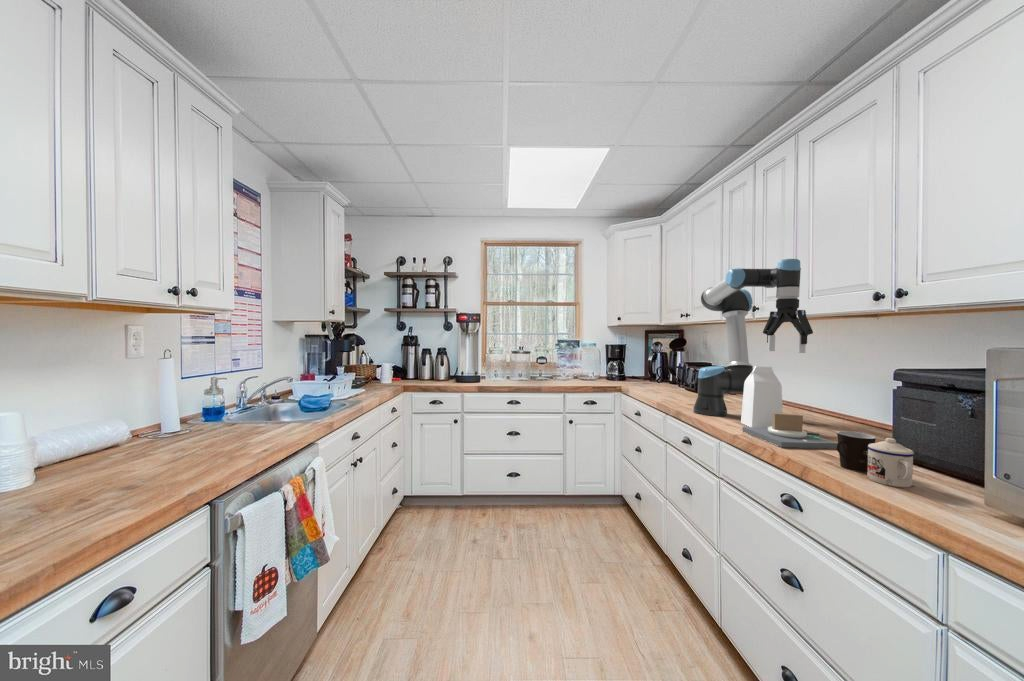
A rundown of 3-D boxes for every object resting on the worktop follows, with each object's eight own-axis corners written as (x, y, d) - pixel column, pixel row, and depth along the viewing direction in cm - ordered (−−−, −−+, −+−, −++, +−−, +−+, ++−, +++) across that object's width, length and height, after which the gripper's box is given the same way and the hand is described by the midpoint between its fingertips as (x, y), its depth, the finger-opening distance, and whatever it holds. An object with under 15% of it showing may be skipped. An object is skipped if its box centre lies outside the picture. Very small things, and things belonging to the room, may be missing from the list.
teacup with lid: (858, 474, 110) (859, 433, 110) (896, 477, 108) (898, 435, 108) (888, 490, 98) (890, 444, 98) (932, 494, 96) (934, 448, 96)
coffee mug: (858, 464, 119) (860, 431, 119) (882, 474, 110) (884, 439, 110) (818, 462, 120) (819, 429, 120) (838, 471, 111) (839, 437, 111)
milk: (751, 428, 164) (753, 366, 163) (740, 422, 175) (742, 364, 175) (783, 430, 161) (785, 367, 161) (770, 424, 173) (772, 365, 172)
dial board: (742, 431, 157) (742, 426, 157) (791, 432, 157) (791, 427, 157) (781, 447, 135) (781, 441, 135) (837, 448, 135) (838, 442, 135)
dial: (774, 436, 142) (775, 415, 142) (762, 428, 153) (763, 410, 153) (827, 440, 138) (827, 419, 138) (810, 432, 149) (811, 413, 149)
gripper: (826, 296, 143) (824, 353, 143) (769, 301, 167) (767, 350, 168) (809, 295, 141) (807, 353, 142) (754, 300, 166) (752, 350, 166)
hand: (785, 352), depth 155 cm, fingers open, 13 cm apart
